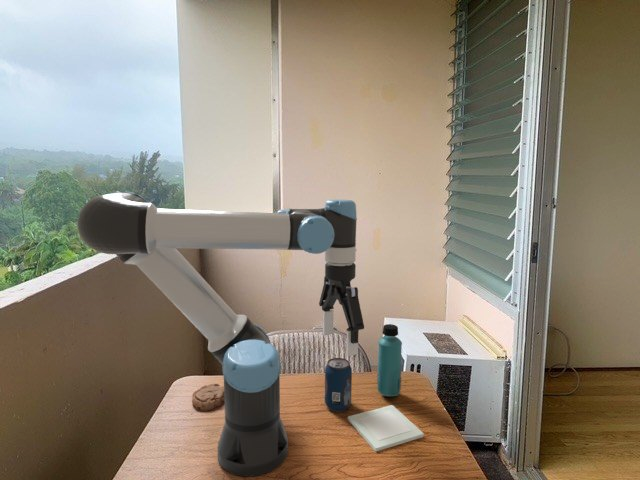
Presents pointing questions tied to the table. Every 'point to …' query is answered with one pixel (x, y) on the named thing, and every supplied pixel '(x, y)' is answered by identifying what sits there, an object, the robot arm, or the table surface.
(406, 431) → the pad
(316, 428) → the table surface
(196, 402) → the cookie
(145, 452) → the table surface
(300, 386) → the table surface
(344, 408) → the soda can
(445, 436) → the table surface
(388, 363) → the beverage bottle
